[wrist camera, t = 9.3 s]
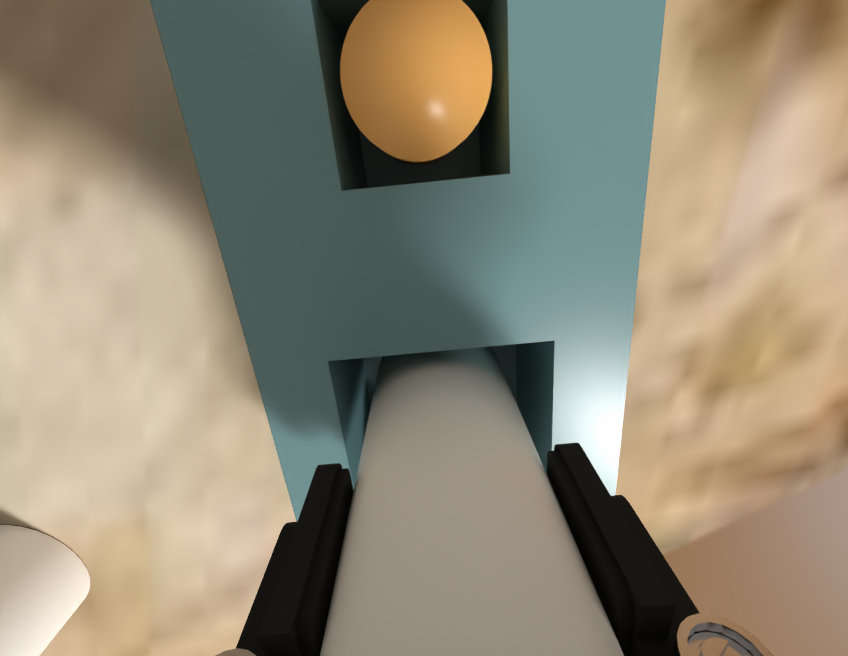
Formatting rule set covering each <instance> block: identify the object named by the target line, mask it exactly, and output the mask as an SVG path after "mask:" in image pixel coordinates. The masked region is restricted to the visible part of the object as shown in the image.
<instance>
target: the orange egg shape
mask: <svg viewBox="0 0 848 656" xmlns="http://www.w3.org/2000/svg"><path fill="white" fill-rule="evenodd" d="M340 77H341V87H342V91H343V96H344V99H345V102H346V105H347V108H348V110H349V112H350V115H351V117H352V119H353V120H354V122H355V123H356V125H357V127H358V128H359V129H360V130H361V132H362V133H363V134H364V135H365V136H366V137H367V138H368V139H369V140H370V141H371V142H372V143H373V144H375V145H376V146H377V147H379V148H380V149H381V150H383V151H384V152H385V153H387V154H388V155H390V156H391V157H393V158H394V159H396V160H398V161H400V162H403V163H406V164H410V165H425V164H430V163H433V162H436V161H438V160H440V159H442V158H443V157H445V156H446V155H447V154H449V153H450V152H451V151H452V150H453V149H454V148H456V147H457V146H458V145H459V144H460V143H461V142H462V141H464V140H465V139H466V138H467V137H468V136H469V134H470V133H471V132H472V131H473V130H474V128H475V127H476V125H477V124H478V122H479V121H480V119H481V117H482V115H483V113H484V110H485V108H486V105H487V103H488V99H489V95H490V90H491V83H492V60H491V53H490V48H489V44H488V41H487V38H486V35H485V33H484V31H483V28H482V26H481V24H480V22H479V21H478V19H477V18H476V16H475V14H474V13H473V12H472V11H471V10H470V8H469V7H468V6H467V5H466V4H465V3H464V2H463V1H462V0H369V1H368V2H367V3H366V4H365V5H364V7H363V8H362V9H361V10H360V11H359V13H358V14H357V15H356V17H355V18H354V20H353V22H352V24H351V26H350V28H349V30H348V32H347V35H346V38H345V41H344V45H343V48H342V54H341V61H340Z"/></svg>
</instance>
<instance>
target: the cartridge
mask: <svg viewBox="0 0 848 656" xmlns="http://www.w3.org/2000/svg"><path fill="white" fill-rule="evenodd" d="M320 656H624V655H623V652H622V650H621V647H620V645H619V643H618V640H617V638H616V636H615V633H614V631H613V629H612V626H611V624H610V622H609V619H608V617H607V615H606V612H605V610H604V608H603V605H602V603H601V601H600V598H599V596H598V593H597V591H596V589H595V586H594V584H593V582H592V579H591V577H590V575H589V572H588V570H587V568H586V565H585V563H584V561H583V558H582V556H581V554H580V551H579V549H578V547H577V544H576V542H575V539H574V537H573V535H572V532H571V530H570V528H569V525H568V523H567V521H566V518H565V516H564V514H563V511H562V509H561V507H560V504H559V502H558V500H557V497H556V495H555V493H554V490H553V488H552V486H551V483H550V481H549V478H548V476H547V474H546V471H545V469H544V467H543V464H542V462H541V460H540V457H539V455H538V453H537V450H536V448H535V446H534V443H533V441H532V439H531V436H530V434H529V432H528V429H527V427H526V424H525V422H524V420H523V417H522V415H521V413H520V410H519V408H518V406H517V403H516V401H515V399H514V396H513V394H512V392H511V389H510V387H509V385H508V382H507V380H506V378H505V375H504V373H503V370H502V368H501V366H500V363H499V361H498V359H497V356H496V354H495V352H494V350H493V349H492V347H491V346H489V347H478V348H467V349H456V350H445V351H434V352H423V353H412V354H401V355H390V356H382V359H381V361H380V364H379V369H378V373H377V378H376V383H375V388H374V393H373V398H372V403H371V408H370V413H369V417H368V422H367V427H366V432H365V437H364V442H363V447H362V452H361V457H360V462H359V467H358V471H357V476H356V481H355V486H354V491H353V496H352V501H351V506H350V511H349V516H348V520H347V525H346V530H345V535H344V540H343V545H342V550H341V555H340V560H339V565H338V569H337V574H336V579H335V584H334V589H333V594H332V599H331V604H330V609H329V614H328V618H327V623H326V628H325V633H324V638H323V643H322V648H321V653H320Z"/></svg>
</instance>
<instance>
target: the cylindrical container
mask: <svg viewBox="0 0 848 656" xmlns="http://www.w3.org/2000/svg"><path fill="white" fill-rule="evenodd" d="M89 589H90V577H89V574H88V571H87V569H86V567H85V565H84V564H83V562H82V561H81V559H80V558H79V557H78V556H77V555H76V554H75V553H74V552H73V551H72V550H71V549H69V548H68V547H67V546H65V545H64V544H63V543H61V542H59V541H58V540H56V539H54V538H52V537H51V536H48V535H46V534H43V533H41V532H39V531H36V530H32V529H29V528H25V527H20V526H13V525H0V656H39V655H40V654H41V653H42V652H43V650H44V649H45V648H46V647H47V645H48V644H49V643H50V642H51V640H52V639H53V638H54V637H55V635H56V634H57V633H58V632H59V630H60V629H61V628H62V627H63V625H64V624H65V623H66V622H67V620H68V619H69V618H70V617H71V615H72V614H73V613H74V612H75V610H76V609H77V608H78V607H79V605H80V604H81V603H82V602H83V600H84V599H85V598H86V596H87V594H88V592H89Z"/></svg>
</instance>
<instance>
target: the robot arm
mask: <svg viewBox="0 0 848 656" xmlns="http://www.w3.org/2000/svg"><path fill="white" fill-rule="evenodd" d="M547 476H548V478H549V481H550V483H551V486H552V488H553V490H554V493H555V495H556V497H557V500H558V502H559V504H560V507H561V509H562V511H563V514H564V516H565V518H566V521H567V523H568V525H569V528H570V530H571V532H572V535H573V537H574V539H575V542H576V544H577V547H578V549H579V551H580V554H581V556H582V558H583V561H584V563H585V565H586V568H587V570H588V572H589V575H590V577H591V579H592V582H593V584H594V586H595V589H596V591H597V593H598V596H599V598H600V601H601V603H602V605H603V608H604V610H605V612H606V615H607V617H608V619H609V622H610V624H611V626H612V629H613V631H614V633H615V636H616V638H617V640H618V643H619V645H620V647H621V650H622V652H623V655H624V656H773V654H772V653H771V652H770V651H769V650H768V649H767V648H766V647H765V645H764V644H763V643H762V642H761V641H760V640H759V639H758V638H756V637H755V636H754V635H753V634H751V633H750V632H749V631H747V630H746V629H745V628H744V627H742V626H740V625H738V624H736V623H734V622H732V621H731V620H729V619H727V618H723V617H720V616H717V615H713V614H701V613H699V612H698V610H697V608H696V607H695V605H694V604H693V602H692V600H691V599H690V597H689V596H688V594H687V593H686V591H685V590H684V588H683V586H682V585H681V583H680V582H679V580H678V579H677V577H676V575H675V574H674V572H673V571H672V569H671V568H670V566H669V564H668V563H667V561H666V560H665V558H664V557H663V555H662V553H661V552H660V550H659V549H658V547H657V546H656V544H655V543H654V541H653V539H652V538H651V536H650V535H649V533H648V532H647V530H646V528H645V527H644V525H643V524H642V522H641V521H640V519H639V517H638V516H637V514H636V513H635V511H634V510H633V508H632V506H631V505H630V503H629V502H628V501H627V500H626V498H625V497H623V496H622V495H615V496H611V495H610V494H609V492H608V490H607V489H606V487H605V485H604V484H603V482H602V480H601V479H600V477H599V475H598V474H597V472H596V470H595V469H594V467H593V465H592V464H591V462H590V460H589V459H588V457H587V455H586V453H585V452H584V450H583V448H582V447H581V445H580V444H579V443H566V444H556V445H555V446H554V451H548V453H547ZM353 491H354V490H353V485H352V481H351V476H350V471H349V469H348V468H345V469H342V465H341V464H340V463H335V464H323V465H318V466H317V468H316V470H315V473H314V476H313V478H312V481H311V484H310V487H309V490H308V493H307V496H306V499H305V502H304V504H303V507H302V510H301V513H300V516H299V519H298V522H290V523H286V524H285V525H284V526H283V528H282V530H281V532H280V535H279V538H278V540H277V543H276V545H275V548H274V551H273V553H272V556H271V558H270V561H269V564H268V566H267V569H266V571H265V574H264V577H263V579H262V582H261V584H260V587H259V590H258V592H257V595H256V597H255V600H254V603H253V605H252V608H251V610H250V613H249V616H248V618H247V621H246V623H245V626H244V629H243V631H242V634H241V636H240V639H239V642H238V644H237V647H236V649H232V650H227V651H224V652H222V653H220V654H218V655H216V656H320V653H321V648H322V643H323V638H324V633H325V628H326V623H327V618H328V614H329V609H330V604H331V599H332V594H333V589H334V584H335V579H336V574H337V569H338V565H339V560H340V555H341V550H342V545H343V540H344V535H345V530H346V525H347V520H348V516H349V511H350V506H351V501H352V496H353Z"/></svg>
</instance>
